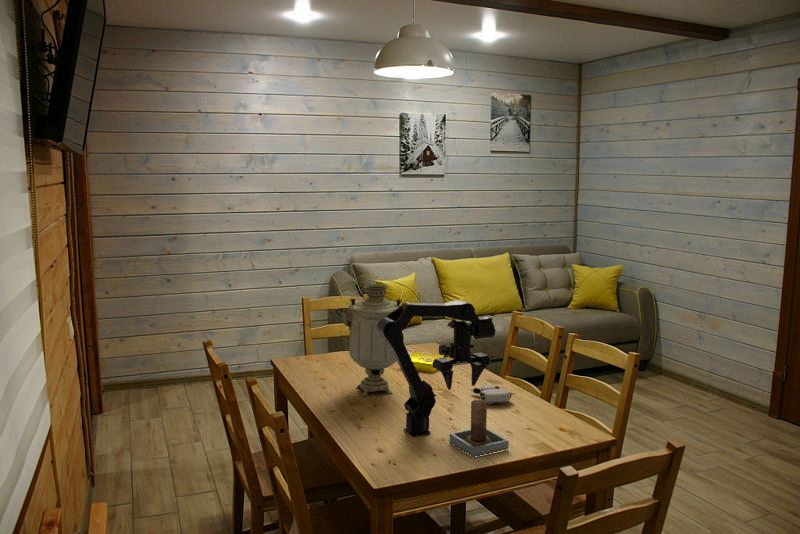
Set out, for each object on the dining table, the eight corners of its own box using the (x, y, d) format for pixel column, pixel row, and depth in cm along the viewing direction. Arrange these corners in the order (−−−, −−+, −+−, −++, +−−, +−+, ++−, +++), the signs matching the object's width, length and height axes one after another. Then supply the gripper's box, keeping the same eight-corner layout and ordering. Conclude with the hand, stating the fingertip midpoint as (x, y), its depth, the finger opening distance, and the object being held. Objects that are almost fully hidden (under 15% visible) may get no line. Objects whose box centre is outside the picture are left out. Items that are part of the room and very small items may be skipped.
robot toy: (468, 397, 248) (484, 407, 234) (468, 384, 248) (484, 394, 234) (499, 394, 252) (516, 404, 237) (499, 382, 251) (516, 392, 237)
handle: (475, 451, 196) (476, 409, 193) (461, 441, 202) (462, 401, 199) (494, 445, 199) (495, 404, 197) (480, 436, 205) (481, 396, 202)
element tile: (445, 364, 288) (445, 354, 288) (433, 374, 275) (433, 362, 274) (413, 360, 294) (413, 350, 293) (399, 369, 280) (400, 358, 280)
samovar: (418, 379, 265) (419, 280, 260) (412, 401, 240) (414, 291, 234) (344, 376, 268) (344, 278, 263) (331, 397, 242) (330, 289, 237)
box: (473, 458, 192) (473, 448, 192) (449, 442, 203) (449, 433, 203) (508, 450, 198) (508, 440, 197) (483, 435, 209) (483, 426, 208)
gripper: (472, 331, 224) (471, 377, 226) (424, 337, 215) (423, 384, 217) (492, 339, 214) (490, 386, 216) (442, 345, 205) (441, 394, 207)
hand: (461, 387), depth 214 cm, fingers open, 9 cm apart
